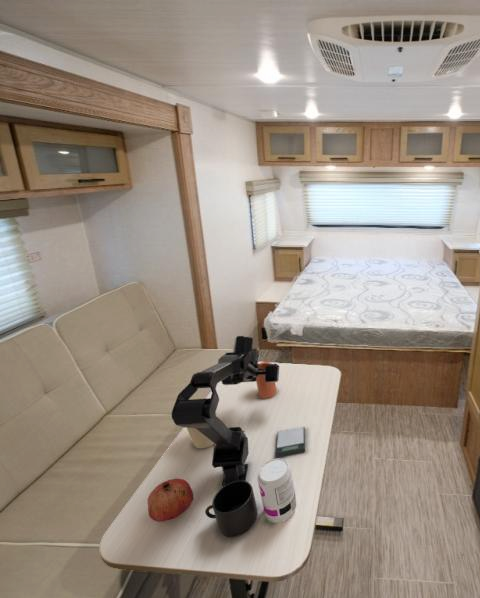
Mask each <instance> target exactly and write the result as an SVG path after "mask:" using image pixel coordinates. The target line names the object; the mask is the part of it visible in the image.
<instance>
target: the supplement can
mask: <svg viewBox="0 0 480 598" xmlns="http://www.w3.org/2000/svg"><path fill="white" fill-rule="evenodd" d="M257 483H258V489H259V493H260V497H261V503H262V507H263V513H264V515H265V519H266V520H267V521H269V522H270V523H274V524H278V523H282V522H285V521H287V520H288V519H290V518H291V517H292V516H293V515H294V513H295V512H296V509H297V496H296V491H295V484H294V478H293V472H292V467H291V465H290V464H289V463H288V462H287V461H286V460H285V459H283V458H273V459H270V460H268V461H266V462H265V463H264V464H263V465H262V466H261V468H260V469H259V473H258V474H257Z"/></svg>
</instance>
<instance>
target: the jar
mask: <svg viewBox="0 0 480 598" xmlns="http://www.w3.org/2000/svg"><path fill="white" fill-rule="evenodd" d="M258 364H259V368H258V369H261V368H266V365H267V364H272V362H269V361H263V362H258ZM259 372H263V371H259ZM255 383H256V388H257V393H258V396H259V398H260V399H262V400H268V399H271V398H273V397H275V396H276V394H277V384H276V382H269V383H267V382H266V381H265V375H258V377H257V380H256V382H255Z"/></svg>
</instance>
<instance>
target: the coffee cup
mask: <svg viewBox="0 0 480 598" xmlns="http://www.w3.org/2000/svg"><path fill="white" fill-rule="evenodd" d="M215 415H216V416H217V412H216V413H215ZM186 429H187V432H188V435H189V437H190V439H191V441H192V444H193V446H194V447H195V448H196V449H206V448H209V447H211V446H214V444H215V443H213V442H212V441H211V440H210V439H208V438H207V437H206V436H205V435H203V434H202V433H201V432H199V431H198V430H197V429H195V428H186Z"/></svg>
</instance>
